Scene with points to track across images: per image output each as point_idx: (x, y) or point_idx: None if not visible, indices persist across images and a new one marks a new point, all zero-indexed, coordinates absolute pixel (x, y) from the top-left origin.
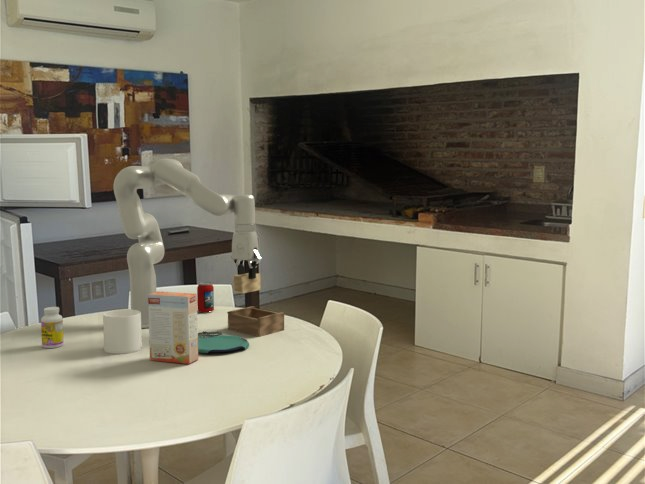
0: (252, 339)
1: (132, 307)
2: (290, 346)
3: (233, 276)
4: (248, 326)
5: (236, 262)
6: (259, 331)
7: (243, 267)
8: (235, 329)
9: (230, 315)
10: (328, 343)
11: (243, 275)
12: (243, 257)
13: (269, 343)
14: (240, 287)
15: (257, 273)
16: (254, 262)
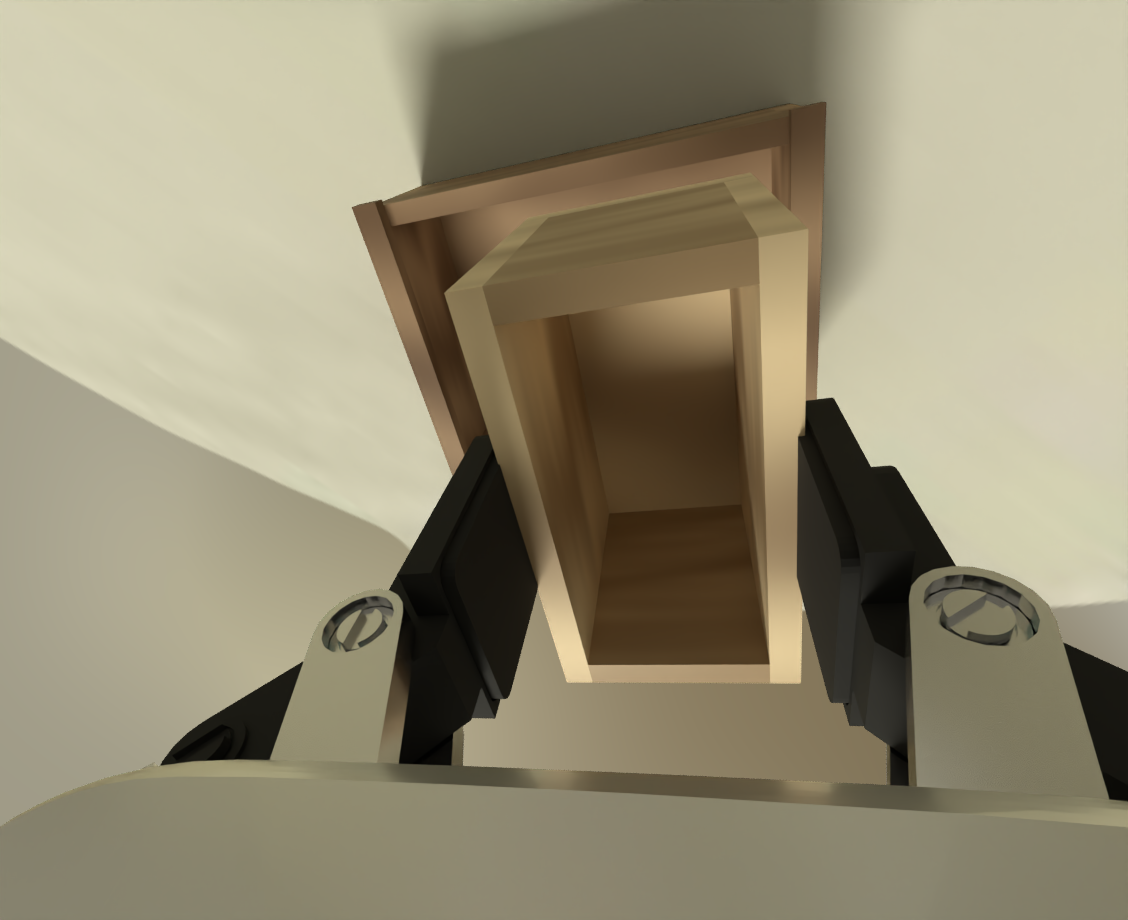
0: (377, 85)
1: None
2: (124, 201)
3: (780, 232)
4: (520, 168)
5: (1071, 702)
6: (409, 191)
7: (829, 665)
8: (689, 126)
9: (769, 118)
10: (140, 398)
11: (761, 506)
12: (278, 900)
13: (228, 129)
14: (561, 225)
15: (621, 678)
16: (184, 760)
